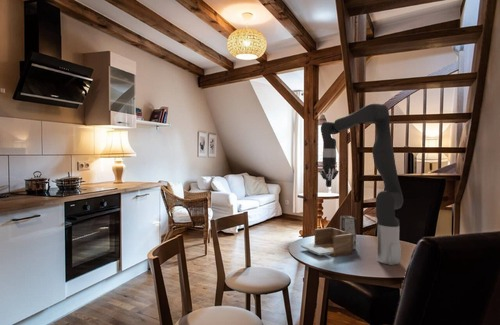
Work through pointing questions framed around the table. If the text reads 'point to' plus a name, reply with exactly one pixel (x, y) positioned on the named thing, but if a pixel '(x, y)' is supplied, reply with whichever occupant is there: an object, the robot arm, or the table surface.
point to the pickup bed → (334, 241)
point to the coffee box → (349, 226)
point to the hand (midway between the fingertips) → (328, 186)
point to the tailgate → (316, 249)
